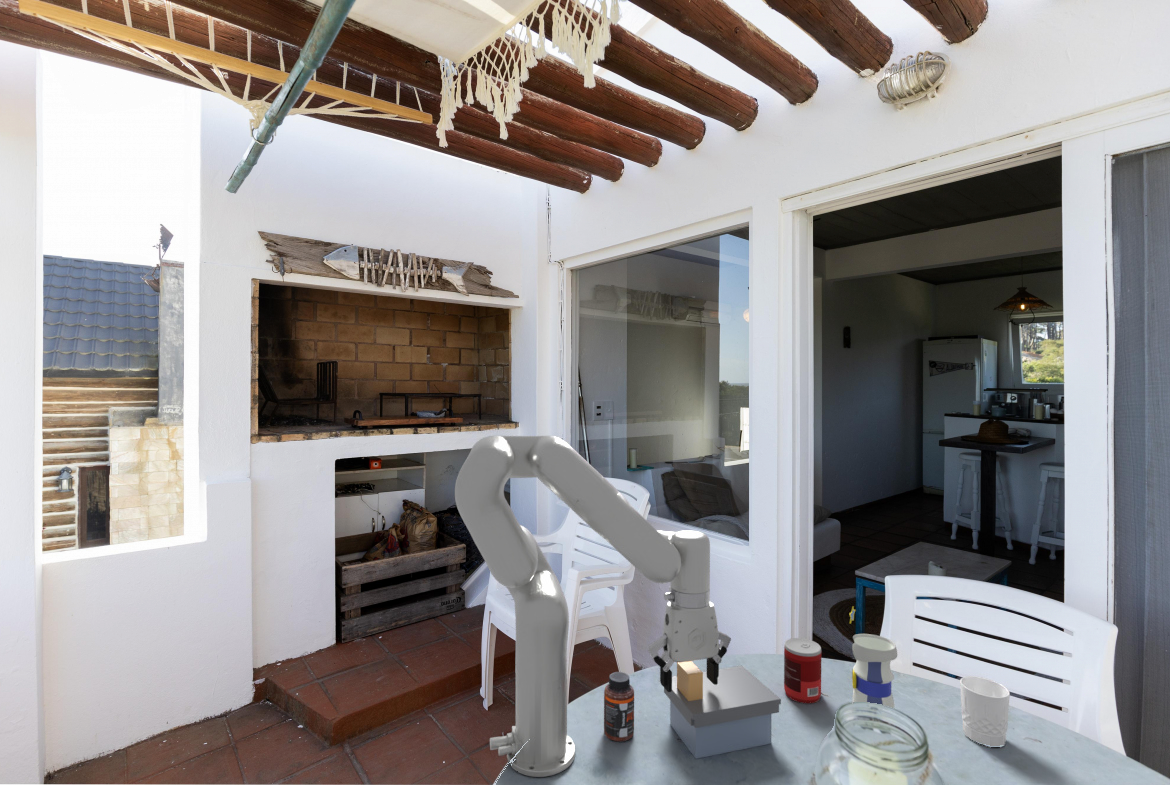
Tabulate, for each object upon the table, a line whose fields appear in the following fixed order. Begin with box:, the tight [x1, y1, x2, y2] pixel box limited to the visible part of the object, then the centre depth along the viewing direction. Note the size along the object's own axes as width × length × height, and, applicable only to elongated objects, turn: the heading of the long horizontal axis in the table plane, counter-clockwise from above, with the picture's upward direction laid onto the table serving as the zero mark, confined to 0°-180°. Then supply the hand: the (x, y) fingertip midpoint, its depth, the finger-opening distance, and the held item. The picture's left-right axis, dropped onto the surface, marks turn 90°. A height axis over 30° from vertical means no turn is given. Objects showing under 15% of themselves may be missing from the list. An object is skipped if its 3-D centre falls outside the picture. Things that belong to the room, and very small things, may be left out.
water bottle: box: [849, 606, 898, 709], centre depth 108 cm, size 8×9×25 cm
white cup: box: [959, 675, 1011, 746], centre depth 110 cm, size 8×8×10 cm
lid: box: [663, 661, 782, 728], centre depth 111 cm, size 18×13×8 cm
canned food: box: [783, 637, 822, 704], centre depth 125 cm, size 8×8×11 cm
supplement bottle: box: [603, 671, 635, 742], centre depth 111 cm, size 6×6×11 cm
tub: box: [669, 699, 772, 760], centre depth 111 cm, size 16×11×8 cm
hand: (689, 684), depth 109 cm, fingers open, 9 cm apart
